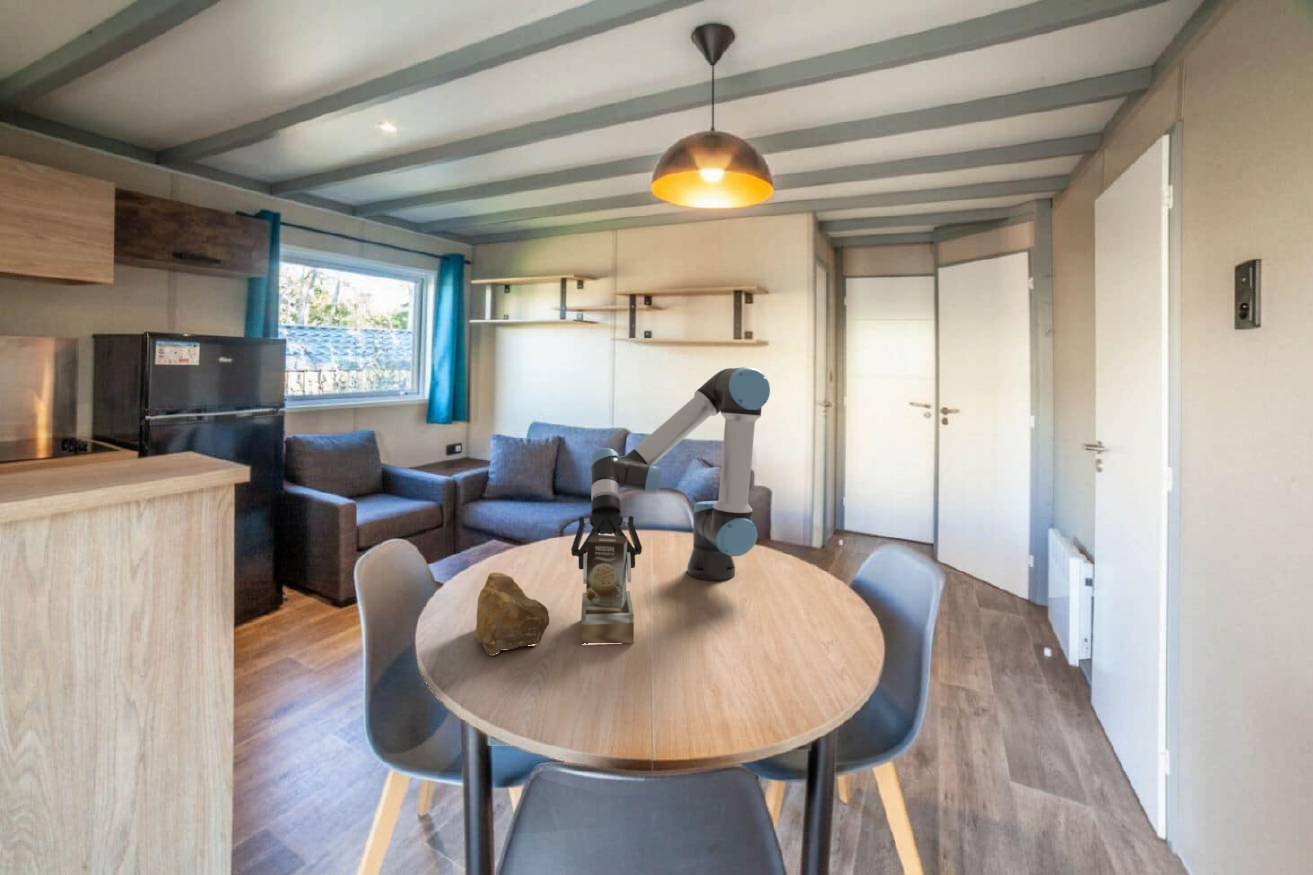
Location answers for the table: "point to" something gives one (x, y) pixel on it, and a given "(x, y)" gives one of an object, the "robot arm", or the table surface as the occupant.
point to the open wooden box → (607, 623)
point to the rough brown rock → (508, 616)
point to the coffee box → (606, 571)
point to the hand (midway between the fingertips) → (607, 580)
